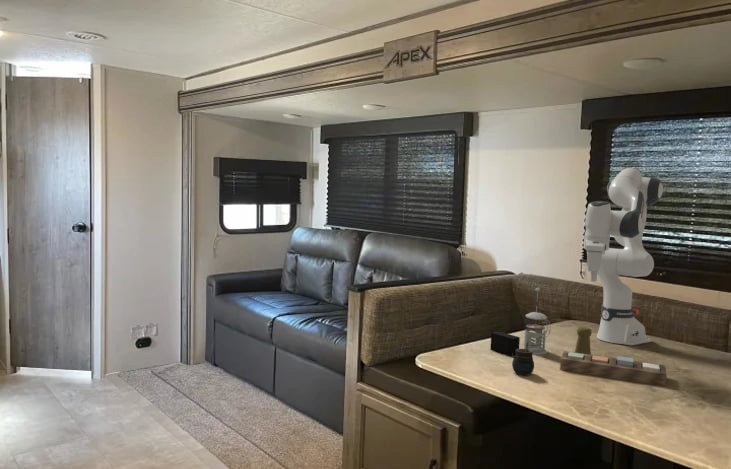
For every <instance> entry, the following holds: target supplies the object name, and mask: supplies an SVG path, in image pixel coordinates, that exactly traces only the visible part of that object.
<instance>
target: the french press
mask: <svg viewBox="0 0 731 469" xmlns="http://www.w3.org/2000/svg"><path fill="white" fill-rule="evenodd" d="M534 290H535V291H536V292H537V294H536V301H538V299H539V298H538V297H539V292H541V288H540V287H536V288H535V289H534ZM525 318H527V319H530V320H535V321H541V323H542V324H546V326H544V325H540V324H537V323H535V324H534V323H533V324H531V323H529V324H526V325H525V327H526V328H525V329H524V340H523V347H522V348H521V349H526V343H528V347H527V349H528V350H531V351H532V352H533V355H535V356H537V355H538V356H539V355H541V356H542V355H547V354H548V351H547V350H546V338H548V336H549V335H550V333H551V327H552V326H551V323H550V321H549V320H548V316H547V315H545V314H544V313H541V312H538V307H536V310H535V311H532V312H529V313H527V314H525ZM548 324H549V325H548ZM548 328H549V329H548ZM545 329H546V330H545ZM548 330H549V331H548ZM547 333H548V334H547ZM546 334H547V335H546Z"/></svg>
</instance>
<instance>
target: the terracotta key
mask: <svg viewBox="0 0 731 469" xmlns="http://www.w3.org/2000/svg"><path fill="white" fill-rule="evenodd" d="M592 355H593V357H592V361H594V362H601V363H608V357H609V356H603V357H601V355H596V356H594V355H595V354H592Z"/></svg>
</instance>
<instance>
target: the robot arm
mask: <svg viewBox="0 0 731 469" xmlns="http://www.w3.org/2000/svg"><path fill="white" fill-rule="evenodd" d="M642 175H643V174H642V173H641V172H640V171H639V170H638V169H636V168H634V167H627V168H624V169H622V170H620V172H618V174H616V176H615V177H612V178H611V179H609V181H608V183H607V187H606V191H607V192H606V193H607V197H608V198H609V199H610V200H611V202H613V204H614V205H616V206H617V207H622V208H621V210H612V209H611V203H610V202H609V201H605V200H595V201H591V202H589V203H588V205H587V208H586V213H585V224H584V225H585V233H584V237H583V249H584V250H585V251H586V256H587V257H586V258H587V259H586V260H587V262H586V264H587V271H588V272H590V281H591V282H594V283H595V282H597V278H598V277H599V279H600V281H601V283H602V284H601V285H602V289H603V290H602V291H603V292H602V293H603V300H602V301H603V302H602V305H601V312H600V313H601V318H600V321H599V322H600V324H599V327H598V331H597V334H596V339H598V340H600V341H604V342H606V343H612V344H620V345H626V346H636V345H641V344H647V343H651V342H652V339H651V337H648V336H647V335H646V327H645V326H644V325H643V324H642V323H641V322H640V321H639V320H638V319H636V318H635V315H639V309H636V308H632V303H633V302H632V301H633V291H632V289H631V287H630V286H628V285H627V284H626V283H624V282H622V281H621V279H620V276H626V277H634V278H638V277H647V276H649V275H650V274H651V273H652V272H653V270H654V267H655V261H654V258H653V256H652V255H651V254H650V253H649V252H648V251H647V250H646V249H645V247H644V245H643V235H644V231H645V228H646V222H647V216H648V214H647V213H648V212H647V211H648V208H647V207H649V208H650V207H652V206H653V205H655V204H656V203H658V201H659V200H660V199H661V197H662V196H663V193H664V186H663V182H662V181H661V179H660V178H656V177H648V176H647V177H645V176H642ZM610 236H611V237H612V236H613V238H614V240H615V242H617V244H619V245H621V246H623V248H613V247H610V240H611V239H610ZM597 276H598V277H597Z"/></svg>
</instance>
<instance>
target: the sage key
mask: <svg viewBox="0 0 731 469" xmlns="http://www.w3.org/2000/svg"><path fill="white" fill-rule="evenodd" d="M568 352H569V353H568V358H574V359H581V360H583V358H584V354H580V353H573V352H574V351H568Z"/></svg>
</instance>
